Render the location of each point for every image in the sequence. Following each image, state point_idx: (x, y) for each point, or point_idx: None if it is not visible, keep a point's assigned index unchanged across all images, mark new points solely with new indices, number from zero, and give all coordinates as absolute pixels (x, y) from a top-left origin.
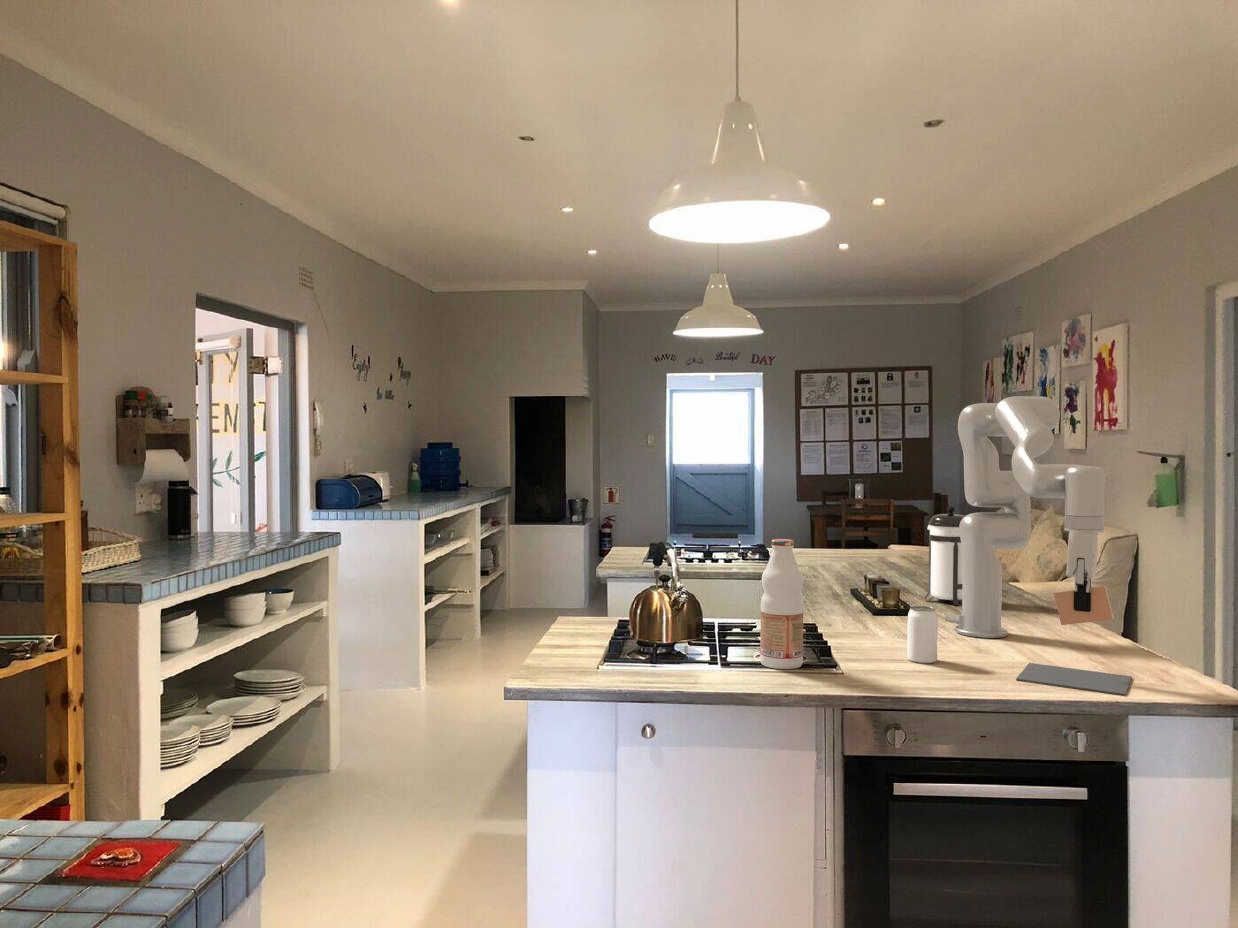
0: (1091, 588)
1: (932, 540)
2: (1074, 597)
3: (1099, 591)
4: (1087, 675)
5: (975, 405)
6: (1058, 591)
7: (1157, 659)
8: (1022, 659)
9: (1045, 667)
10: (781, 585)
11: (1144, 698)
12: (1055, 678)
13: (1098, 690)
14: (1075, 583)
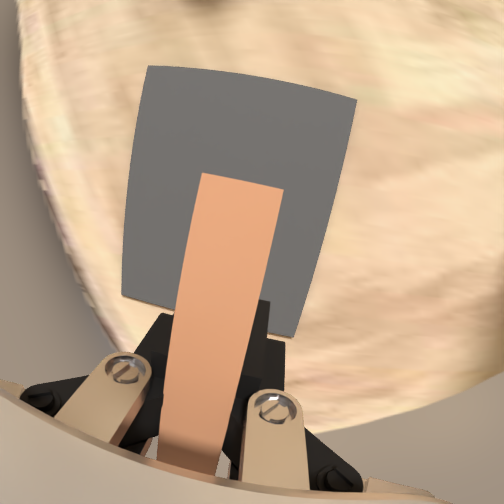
0: (159, 460)
1: None
2: (169, 327)
3: None
4: None
5: None
6: (260, 227)
7: (464, 386)
8: (412, 93)
9: (314, 137)
10: None
11: (125, 321)
12: (187, 156)
13: (123, 246)
14: (70, 401)
